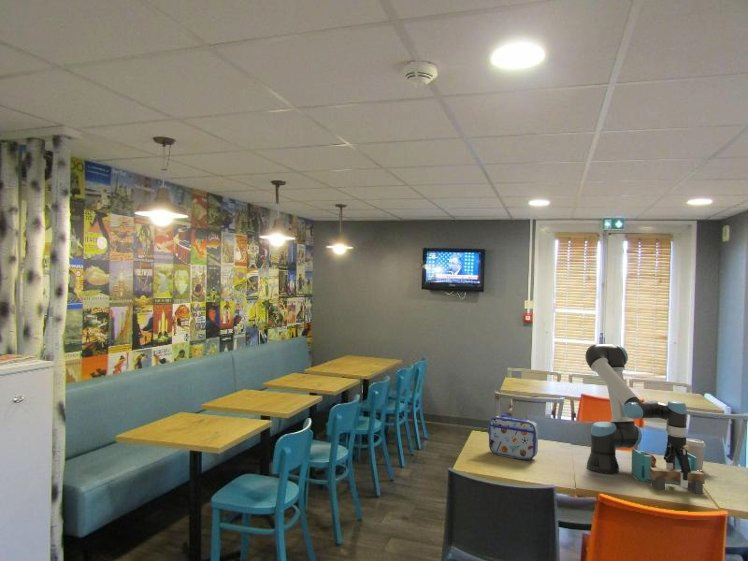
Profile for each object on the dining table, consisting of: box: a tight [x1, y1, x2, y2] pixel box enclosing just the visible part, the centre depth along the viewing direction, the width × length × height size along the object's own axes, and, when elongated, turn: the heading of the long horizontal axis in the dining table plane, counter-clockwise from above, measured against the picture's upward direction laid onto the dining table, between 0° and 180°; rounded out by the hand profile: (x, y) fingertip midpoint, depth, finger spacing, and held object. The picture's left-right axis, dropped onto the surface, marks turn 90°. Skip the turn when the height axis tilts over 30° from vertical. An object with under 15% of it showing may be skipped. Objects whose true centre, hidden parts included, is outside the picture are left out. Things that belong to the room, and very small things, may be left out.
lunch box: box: [486, 413, 539, 461], centre depth 271 cm, size 28×10×22 cm, turn 58°
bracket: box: [631, 447, 697, 485], centre depth 241 cm, size 26×9×13 cm, turn 83°
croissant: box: [644, 451, 657, 468], centre depth 266 cm, size 21×10×8 cm, turn 165°
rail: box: [649, 467, 706, 485], centre depth 228 cm, size 22×4×4 cm, turn 83°
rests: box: [651, 478, 704, 495], centre depth 228 cm, size 19×7×5 cm, turn 83°
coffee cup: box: [686, 438, 707, 472], centre depth 261 cm, size 10×10×15 cm
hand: (676, 482), depth 228 cm, fingers open, 13 cm apart
